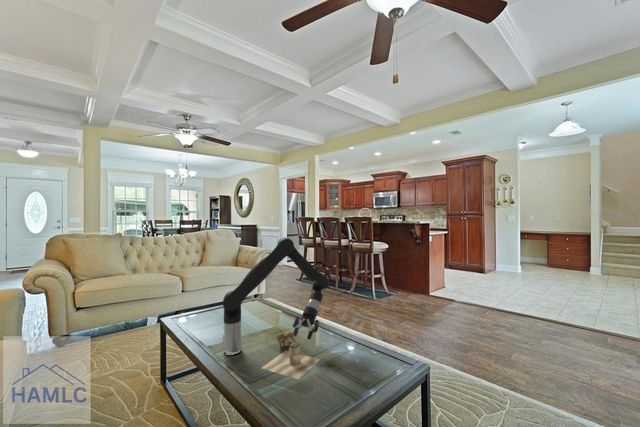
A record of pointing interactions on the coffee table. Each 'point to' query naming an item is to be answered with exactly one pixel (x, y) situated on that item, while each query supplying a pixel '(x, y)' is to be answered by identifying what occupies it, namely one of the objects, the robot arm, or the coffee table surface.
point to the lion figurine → (284, 338)
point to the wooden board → (290, 365)
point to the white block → (294, 353)
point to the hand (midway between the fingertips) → (301, 337)
